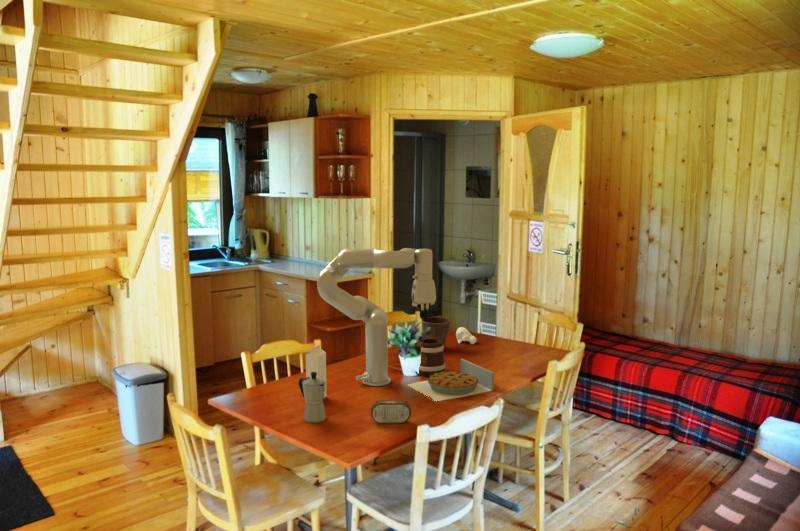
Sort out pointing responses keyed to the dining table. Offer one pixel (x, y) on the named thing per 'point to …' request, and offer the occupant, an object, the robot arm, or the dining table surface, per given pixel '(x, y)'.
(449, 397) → the grey l-shaped tray
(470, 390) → the pie
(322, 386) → the coffee maker
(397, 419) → the tin
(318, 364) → the milk
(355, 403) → the dining table surface
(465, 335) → the cream rounded lump
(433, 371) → the mug
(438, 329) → the plant pot
